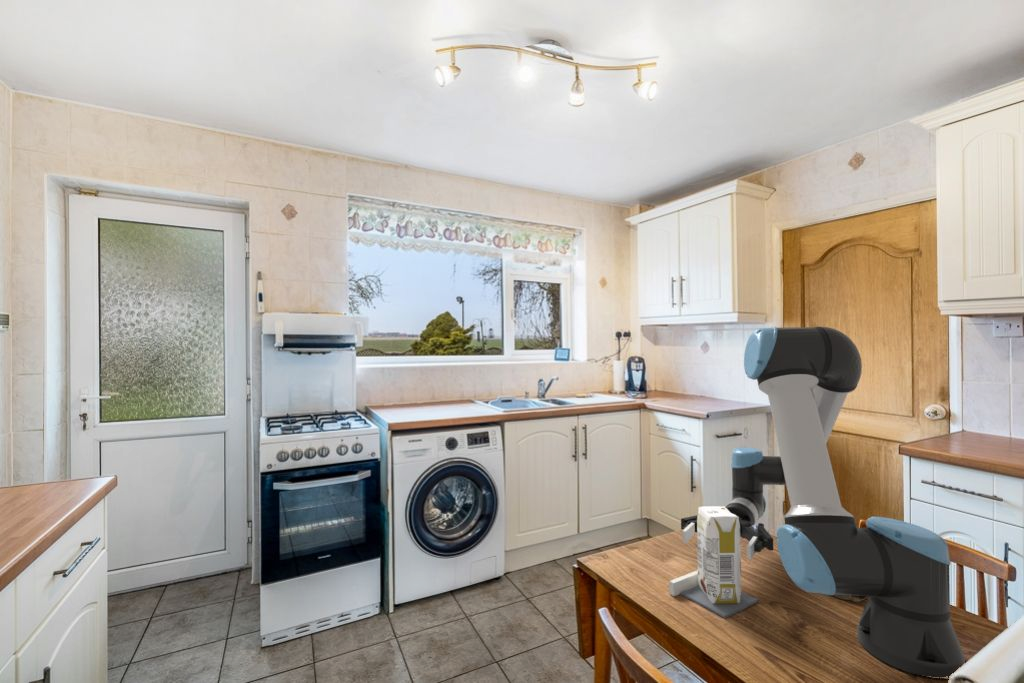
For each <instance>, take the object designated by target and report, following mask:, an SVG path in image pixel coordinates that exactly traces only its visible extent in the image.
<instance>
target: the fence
mask: <svg viewBox="0 0 1024 683" xmlns="http://www.w3.org/2000/svg"><path fill="white" fill-rule="evenodd" d="M668 585H669V586H668V587H669V595H671V596H672V597H677V596H678V595H681V593H682V592H684V591H686V590H689V589H691V588H694V587H696V586H699V581H698V569H697V570H694V571H691V572H689V573H687V574H684V575H682V576H679V577H676V578H674V579H671V580H669V584H668Z"/></svg>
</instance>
